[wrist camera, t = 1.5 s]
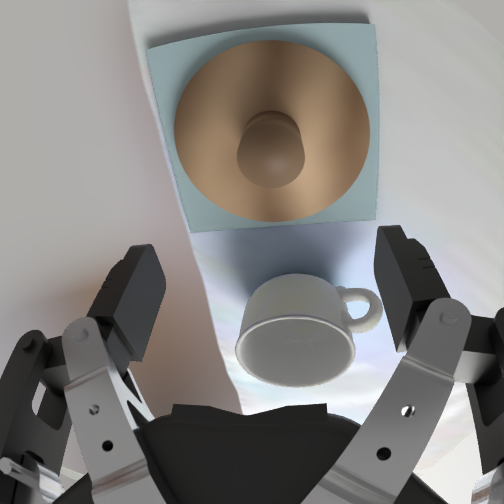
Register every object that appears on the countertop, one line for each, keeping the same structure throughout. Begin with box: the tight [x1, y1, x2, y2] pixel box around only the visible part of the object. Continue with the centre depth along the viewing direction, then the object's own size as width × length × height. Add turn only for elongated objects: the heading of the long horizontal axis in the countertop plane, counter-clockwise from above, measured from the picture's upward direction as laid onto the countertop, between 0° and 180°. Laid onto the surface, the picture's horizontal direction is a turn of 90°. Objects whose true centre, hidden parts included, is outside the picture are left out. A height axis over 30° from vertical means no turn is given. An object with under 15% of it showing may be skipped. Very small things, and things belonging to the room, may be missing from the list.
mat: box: [146, 23, 379, 233], centre depth 23 cm, size 16×16×1 cm
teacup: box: [235, 274, 383, 388], centre depth 30 cm, size 14×11×8 cm
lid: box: [174, 40, 370, 222], centre depth 20 cm, size 14×14×5 cm
